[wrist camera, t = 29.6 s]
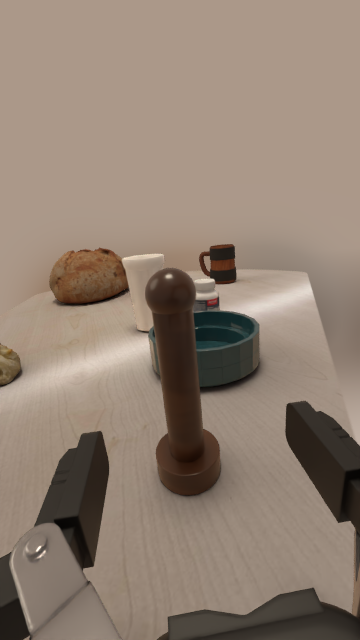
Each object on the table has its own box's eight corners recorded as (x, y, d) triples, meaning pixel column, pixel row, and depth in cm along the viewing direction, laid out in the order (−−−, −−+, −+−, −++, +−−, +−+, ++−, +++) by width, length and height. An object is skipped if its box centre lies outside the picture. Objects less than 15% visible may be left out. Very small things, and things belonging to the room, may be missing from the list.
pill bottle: (210, 331, 51) (208, 284, 48) (188, 326, 55) (184, 282, 52) (225, 322, 55) (223, 278, 52) (203, 318, 58) (200, 277, 55)
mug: (203, 279, 98) (201, 246, 94) (237, 278, 95) (236, 243, 91) (198, 285, 90) (195, 248, 87) (235, 283, 87) (234, 246, 83)
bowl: (225, 334, 49) (224, 304, 48) (283, 371, 36) (284, 332, 34) (143, 354, 45) (138, 322, 43) (173, 405, 31) (168, 362, 29)
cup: (139, 338, 51) (128, 261, 47) (128, 326, 58) (116, 258, 54) (178, 328, 54) (171, 254, 50) (162, 318, 61) (155, 252, 57)
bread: (103, 306, 76) (93, 251, 71) (36, 306, 83) (22, 256, 78) (142, 285, 100) (136, 242, 95) (87, 286, 107) (79, 247, 102)
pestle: (204, 436, 26) (189, 259, 21) (232, 480, 22) (223, 266, 16) (151, 455, 25) (121, 269, 19) (169, 506, 20) (136, 280, 15)
